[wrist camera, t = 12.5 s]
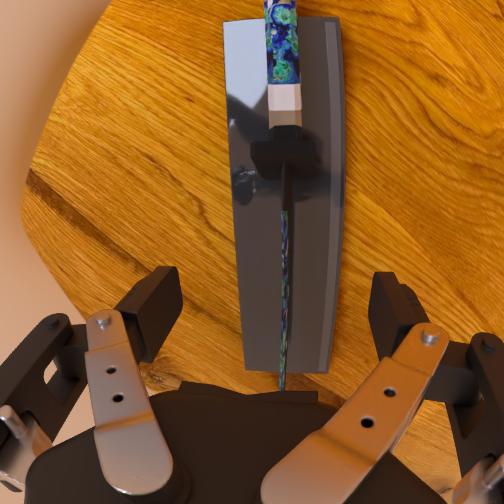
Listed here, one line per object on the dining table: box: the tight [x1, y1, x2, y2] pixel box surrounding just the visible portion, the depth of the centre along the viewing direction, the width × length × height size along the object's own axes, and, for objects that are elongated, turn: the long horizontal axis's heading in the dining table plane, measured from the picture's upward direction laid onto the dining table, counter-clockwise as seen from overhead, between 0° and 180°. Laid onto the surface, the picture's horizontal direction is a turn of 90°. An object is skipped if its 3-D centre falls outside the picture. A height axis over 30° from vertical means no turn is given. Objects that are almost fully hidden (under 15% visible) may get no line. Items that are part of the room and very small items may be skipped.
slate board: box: [223, 17, 346, 374], centre depth 20 cm, size 7×26×2 cm, turn 3°
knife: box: [250, 0, 316, 391], centre depth 17 cm, size 30×3×4 cm, turn 179°
